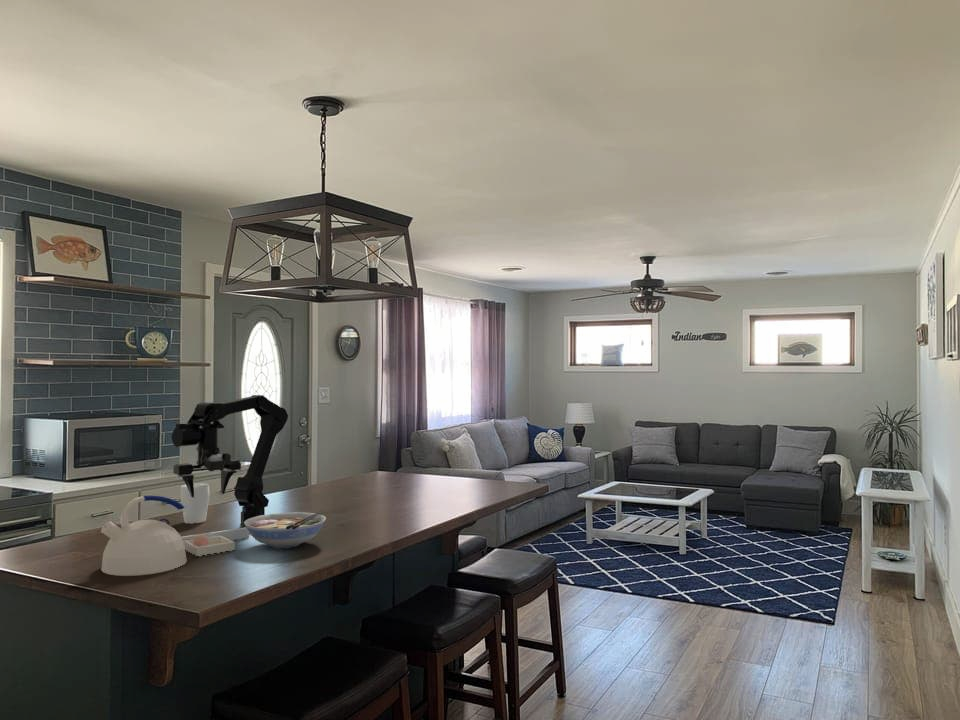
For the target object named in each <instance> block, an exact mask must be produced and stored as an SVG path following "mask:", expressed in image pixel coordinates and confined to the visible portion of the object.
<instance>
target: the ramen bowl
mask: <svg viewBox="0 0 960 720" xmlns="http://www.w3.org/2000/svg"><path fill="white" fill-rule="evenodd" d="M323 512H324V511H322V510H320V511H318V512H316V513H314V512H304V511H303V512H302V511H301V512H295V511H294V512H278V513H277V512H276V513H269V514H265V515H261V516H256V517H253V518H250V519H247V520H246V521H245V522H244V524H245V526H246V528H247V529H248V531H249V535H250V536H252V537H253V539H254V540H256V541H257V542H258V543H262V544H264V545H267V546H271V547H272V548H274V549H280V548H285V549H291V547H293V548H295V547H298V546H300V544H303V543H306V542H308V541H310V540H311V539H313V538H314V537H315V536H316V535H317V534H318V533H319V532H320V530H321V529H322V528H323V526H324V524H325V521H326V520H327V517H326V516H325V515H323V514H321V513H323Z"/></svg>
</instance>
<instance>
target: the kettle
mask: <svg viewBox="0 0 960 720" xmlns="http://www.w3.org/2000/svg"><path fill="white" fill-rule="evenodd" d="M145 501H156V502H161V503H165V504H168V505H171V506H172V507H175V509H177V510H182V509H183V508H184V506H183V505H182V503H181V502H178V501H177V500H174V499H171V498H169V497H165V496H162V495H142V496H139V497H135V498H133V499H132V500H130V501H129V502H127V504H126V505H125V506H124V508H123V509H122V511H121V515H120V527H119V526H117V525H116V524H114V523H113V522H112V521H107V522H105V524H104V525H103V526H102V527H101V530H100V532H101V534H104V535H105V536H106V537H108V538H109V540H108V541H107V543H106V546H105V548H104V550H103V554H102V560H101V561H102V562H101V568H100V571H102V573H104V574H107V575H111V576H117V577H119V576H120V577H133V576H135V577H136V576H137V577H138V576H148V575H154V574H161V573H165V572H169V571H172V570H176V569H178V567H179V568H180V566H181V567H182V565H183V566H184V565H185V564H186V563H187V561H188V560H187V553H186V552H187V551H185V544H184V542H183V540H182V537H183V536H182V535H181V534H180V533H179V532H178V531H177V530H176V529H175V528H174V527H172V526H171V525H170V521H169V520H168V519H167V518H161V519H160V520H158V519H157V520H156V519H140V520H135V521H133V522H130V523H129V515H130V511H131V510H132V509H133V507H134V506H136V505H137V504H139V503H141V502H145ZM164 521H165V522H164ZM175 568H176V569H175Z"/></svg>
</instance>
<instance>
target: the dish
mask: <svg viewBox="0 0 960 720" xmlns="http://www.w3.org/2000/svg"><path fill="white" fill-rule="evenodd" d="M208 539H209V544H208V546H202V547H198V546H196V545H194V544H193V542H194V540H188V541H184V544H185V550H186V551H185V552H187V551H188V552H187V553H189V552H190V553H189V554H191V553H192V554H191V555H193V554H194V555H196V556H199V557H203V556H202V555H205V556H208V555H207V554H211V555H215V554H214V553H217V554H221V553H220V552H223V553H226V552H225V551H230V552H233V551H232V550H236V545H235V544H236V542H235V540H232V541H231V540H229V539H227V538H225V537H223V536H215V537H208ZM194 555H193V556H194ZM196 556H195V557H196Z"/></svg>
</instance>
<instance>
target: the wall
mask: <svg viewBox="0 0 960 720" xmlns="http://www.w3.org/2000/svg"><path fill="white" fill-rule="evenodd" d="M198 535H205V536H207V537H215V536H223V537H225V538H227V539H229V540H232V541H236V540H235V539H238V540H243V539H242V538H245V539H249V538H250V532H249V531H248V529H247V528H246V527H237V528H233V529H226V530H225V529H224V530H220V531H211V532H204V533H198V534H197V533H196V534H190V535H185V536H181V537H182V540H183V542H184V541H188V540H194V539H195V537H196V536H198Z"/></svg>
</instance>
